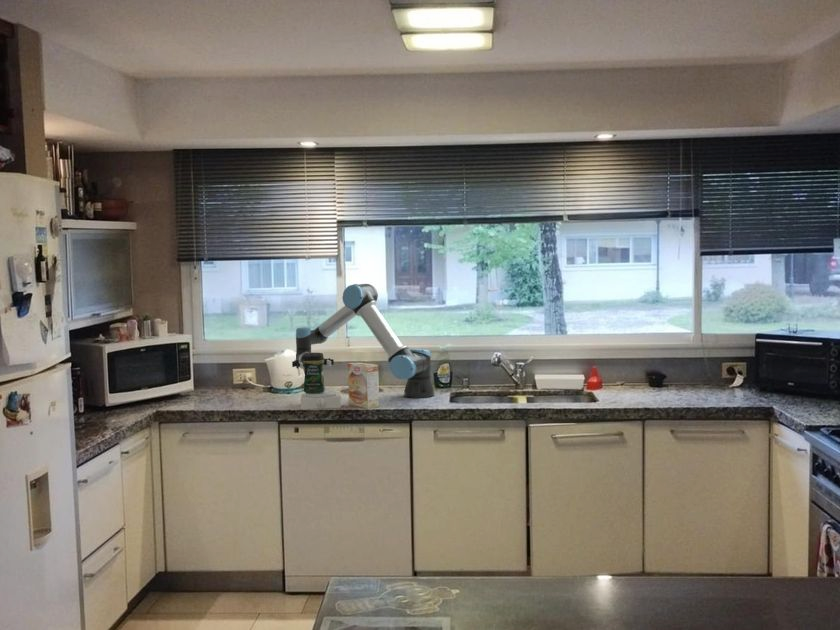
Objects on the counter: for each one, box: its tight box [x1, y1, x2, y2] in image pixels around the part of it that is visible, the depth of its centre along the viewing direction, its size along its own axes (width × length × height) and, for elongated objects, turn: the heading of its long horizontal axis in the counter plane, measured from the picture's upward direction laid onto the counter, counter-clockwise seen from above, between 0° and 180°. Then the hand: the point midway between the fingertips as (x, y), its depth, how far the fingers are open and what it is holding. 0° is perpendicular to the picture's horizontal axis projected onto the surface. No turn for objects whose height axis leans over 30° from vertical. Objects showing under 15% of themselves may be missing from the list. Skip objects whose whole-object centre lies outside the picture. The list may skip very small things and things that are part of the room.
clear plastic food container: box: [300, 389, 342, 410], centre depth 355 cm, size 18×16×6 cm
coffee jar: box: [303, 352, 326, 393], centre depth 355 cm, size 10×8×19 cm
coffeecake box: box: [347, 361, 380, 409], centre depth 354 cm, size 15×7×20 cm, turn 40°
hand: (316, 364), depth 362 cm, fingers open, 13 cm apart
